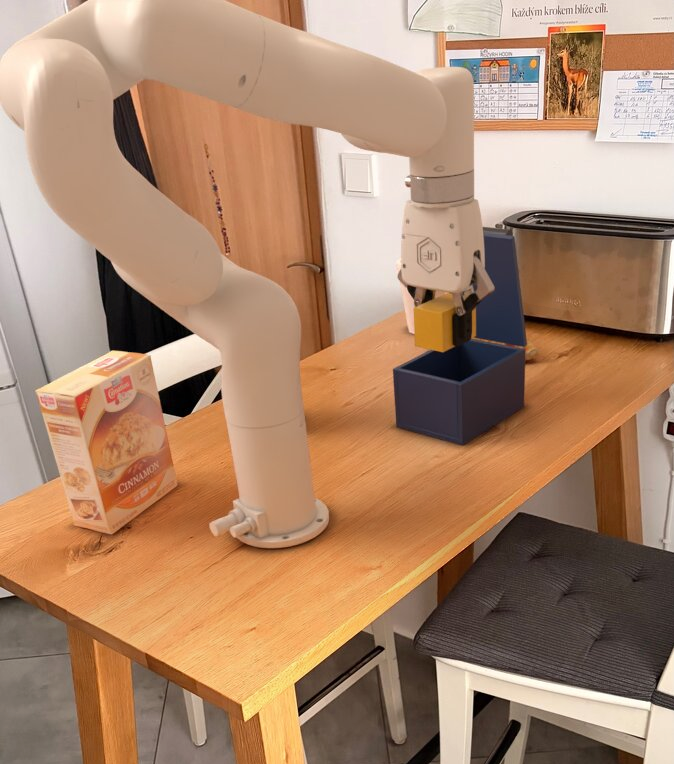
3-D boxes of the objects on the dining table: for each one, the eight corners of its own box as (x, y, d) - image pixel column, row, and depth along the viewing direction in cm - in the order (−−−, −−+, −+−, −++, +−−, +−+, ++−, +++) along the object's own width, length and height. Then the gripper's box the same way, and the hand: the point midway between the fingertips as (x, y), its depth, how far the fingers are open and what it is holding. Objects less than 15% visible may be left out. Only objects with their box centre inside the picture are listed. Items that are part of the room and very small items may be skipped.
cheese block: (443, 352, 115) (442, 313, 112) (414, 346, 117) (413, 307, 115) (476, 336, 119) (476, 297, 116) (448, 330, 121) (447, 292, 119)
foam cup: (397, 338, 173) (393, 268, 166) (402, 322, 181) (399, 254, 173) (447, 336, 172) (446, 265, 164) (450, 320, 179) (449, 251, 172)
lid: (511, 238, 124) (532, 220, 127) (437, 230, 132) (459, 213, 134) (524, 347, 136) (543, 328, 138) (456, 334, 143) (475, 316, 146)
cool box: (462, 445, 132) (461, 384, 127) (396, 426, 140) (392, 368, 135) (524, 407, 142) (525, 348, 136) (458, 391, 149) (457, 335, 144)
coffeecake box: (112, 536, 120) (74, 396, 109) (72, 526, 123) (31, 390, 112) (180, 485, 130) (152, 353, 119) (142, 478, 134) (111, 348, 123)
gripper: (368, 190, 111) (377, 337, 121) (481, 200, 100) (481, 360, 111) (407, 178, 115) (413, 321, 125) (520, 186, 105) (517, 341, 115)
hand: (445, 338), depth 118 cm, fingers closed on cheese block, 4 cm apart
